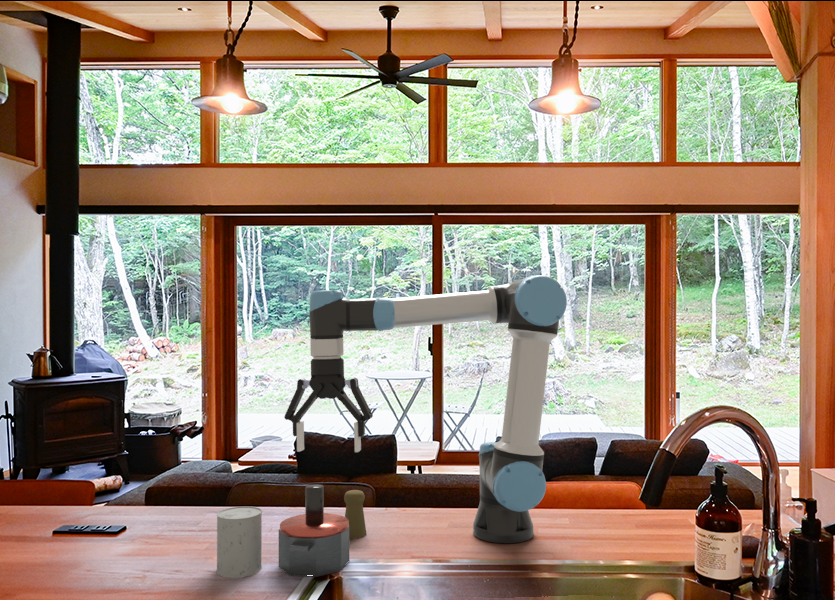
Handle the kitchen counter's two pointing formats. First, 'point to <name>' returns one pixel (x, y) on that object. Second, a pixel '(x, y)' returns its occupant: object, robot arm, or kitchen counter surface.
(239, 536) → the grey concrete cylinder
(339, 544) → the pot
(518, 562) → the kitchen counter surface
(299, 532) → the lid
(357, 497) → the olive pepper mill
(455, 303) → the robot arm
